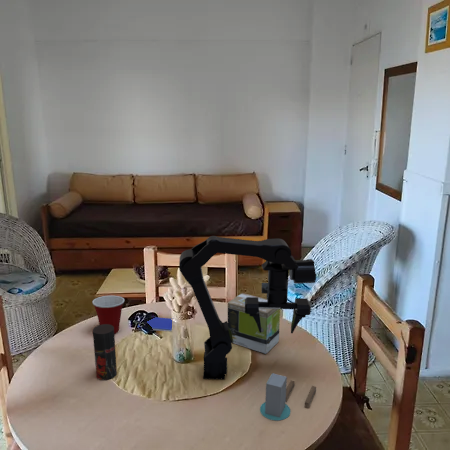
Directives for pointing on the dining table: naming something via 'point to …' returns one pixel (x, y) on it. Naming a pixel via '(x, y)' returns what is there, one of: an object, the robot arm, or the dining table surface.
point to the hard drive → (160, 324)
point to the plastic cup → (109, 310)
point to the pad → (283, 416)
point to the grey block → (275, 395)
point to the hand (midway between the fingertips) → (275, 332)
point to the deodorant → (104, 352)
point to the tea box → (253, 325)
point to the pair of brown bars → (309, 397)
